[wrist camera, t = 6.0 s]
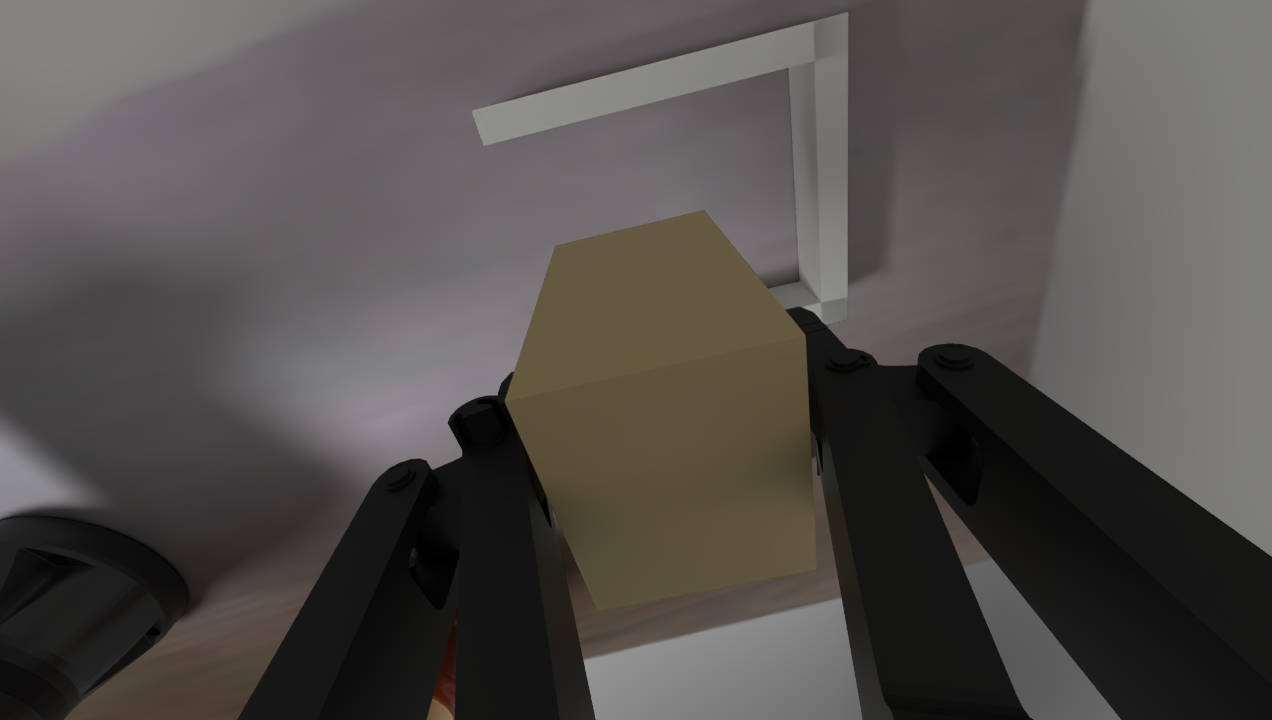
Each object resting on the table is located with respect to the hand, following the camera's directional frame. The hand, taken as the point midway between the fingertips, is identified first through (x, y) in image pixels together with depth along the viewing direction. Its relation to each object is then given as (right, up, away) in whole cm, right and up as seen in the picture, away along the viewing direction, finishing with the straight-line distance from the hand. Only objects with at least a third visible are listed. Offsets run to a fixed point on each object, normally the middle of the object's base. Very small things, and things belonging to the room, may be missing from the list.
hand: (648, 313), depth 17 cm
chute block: (0, 0, 0) cm, 0 cm away
